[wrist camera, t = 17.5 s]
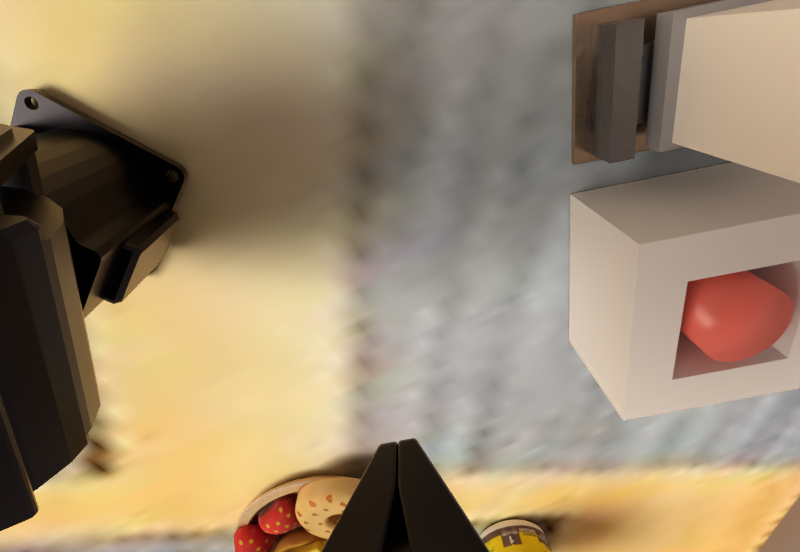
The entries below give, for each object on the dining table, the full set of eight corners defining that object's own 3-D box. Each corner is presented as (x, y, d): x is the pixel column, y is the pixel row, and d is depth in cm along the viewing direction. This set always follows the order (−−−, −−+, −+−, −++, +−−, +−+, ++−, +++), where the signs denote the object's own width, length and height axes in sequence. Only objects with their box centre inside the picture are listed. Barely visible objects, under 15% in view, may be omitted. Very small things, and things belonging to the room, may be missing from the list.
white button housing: (569, 341, 25) (623, 420, 20) (570, 194, 21) (639, 244, 15) (727, 311, 25) (825, 383, 19) (762, 156, 20) (899, 194, 15)
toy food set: (368, 436, 28) (368, 480, 25) (448, 538, 34) (455, 583, 31) (201, 505, 30) (183, 553, 27) (303, 589, 36) (298, 636, 33)
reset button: (630, 305, 22) (695, 369, 18) (636, 244, 21) (708, 297, 16) (699, 292, 22) (781, 352, 18) (711, 229, 21) (803, 279, 16)
